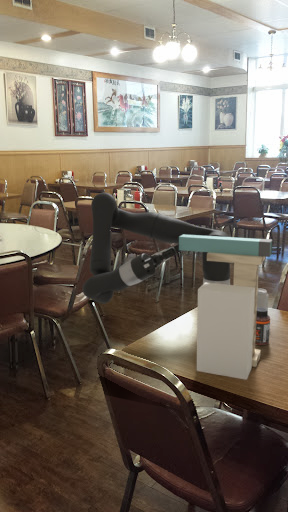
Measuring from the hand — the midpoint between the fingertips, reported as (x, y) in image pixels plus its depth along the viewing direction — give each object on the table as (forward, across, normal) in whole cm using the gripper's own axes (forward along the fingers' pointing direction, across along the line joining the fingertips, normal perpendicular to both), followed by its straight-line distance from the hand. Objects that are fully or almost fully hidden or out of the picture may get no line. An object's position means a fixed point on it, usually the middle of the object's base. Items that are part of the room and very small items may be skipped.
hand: (180, 247), depth 139 cm
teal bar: (+11, 0, +7) cm, 13 cm away
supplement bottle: (+3, +14, +39) cm, 42 cm away
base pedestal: (-2, -9, +36) cm, 37 cm away
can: (-1, +32, +37) cm, 49 cm away
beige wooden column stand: (-2, 0, +36) cm, 36 cm away
